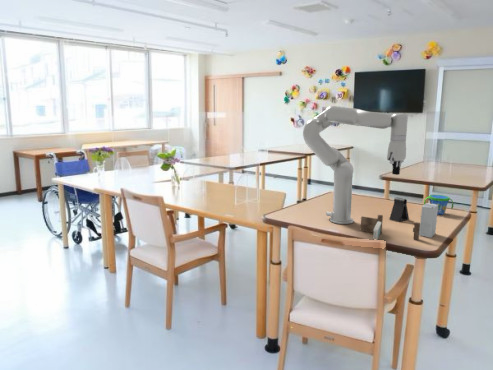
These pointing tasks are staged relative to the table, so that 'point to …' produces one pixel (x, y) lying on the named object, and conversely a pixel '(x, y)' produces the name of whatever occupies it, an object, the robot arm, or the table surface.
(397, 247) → the table surface
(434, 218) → the skincare box
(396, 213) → the door stopper
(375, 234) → the gate
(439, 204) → the snack cup
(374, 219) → the gate posts
